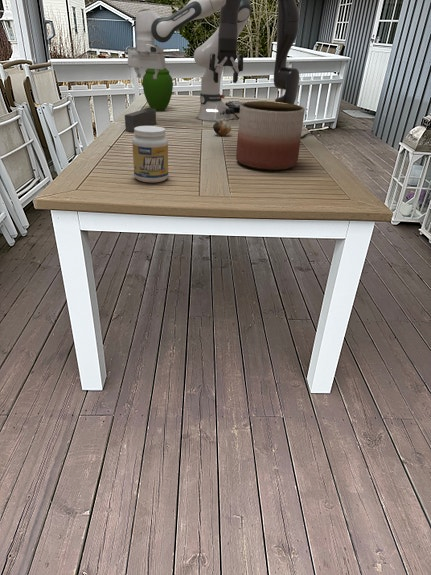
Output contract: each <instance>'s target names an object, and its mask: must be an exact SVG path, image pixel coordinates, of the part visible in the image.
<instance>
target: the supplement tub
mask: <svg viewBox="0 0 431 575" xmlns="http://www.w3.org/2000/svg"><path fill="white" fill-rule="evenodd" d="M133 134H134V136H133V137H132V140H131V144H132V160H133V176H134V178H135V179H136V180H138V181H139V182H143V183H161V182H164V181H166V180H167V179H168V177H169V141H168V138H167V137H166V128H164V127H162V126H157V125H152V126H138V127H135V128H134V133H133Z"/></svg>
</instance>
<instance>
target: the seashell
mask: <svg viewBox="0 0 431 575" xmlns="http://www.w3.org/2000/svg"><path fill="white" fill-rule="evenodd" d="M212 129H213V131H214V133H215V134H216V135H218V136H226V135H228V134H229V133H230V132H231V131H232V127H231V124H230V123H229V122H228V120H226V119H223V120H219V121H215V123H214V124H213V125H212Z"/></svg>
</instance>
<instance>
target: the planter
mask: <svg viewBox="0 0 431 575" xmlns="http://www.w3.org/2000/svg"><path fill="white" fill-rule="evenodd" d="M305 110H306V109H305V107H304V106H301V105H298V104H295V103H294V104H289V103H282V102H275V101H268V100H267V101H265V100H252V101H245V102H244V101H243V103H241V104H240V113H239V116H238V117H239V119H238V128H237V140H236V151H235V152H236V153H235V159H236V161H237V162H238V163H239V164H241V165H243V166H245V167H248V168H251V169H255V170H261V171H284V170H285V171H286V170H288V169H291V168H294V167H295V166H296V165H297V164H298V160H299V156H300V155H299V154H300V146H301V141H302V140H301V139H302V138H301V136H302V133H303V132H302V131H303V126H304V118H305Z"/></svg>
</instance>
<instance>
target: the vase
mask: <svg viewBox="0 0 431 575" xmlns="http://www.w3.org/2000/svg"><path fill="white" fill-rule="evenodd" d="M144 70H145V73H144V74H143V76H142V81H141V84H142V89H143V94H144V97H145V100H146V102H147V104H148V107H149V108H153V109H156V112H164V111H165V110H166V109H167V108H168V106H169V104H170V102H171V99H172V95H173V88H174V82H173V77H172V76H171V74H170V70H169V69H167V67H165V69H163V70H159V72H158V74H157V79H153V75H155V69H144Z"/></svg>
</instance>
